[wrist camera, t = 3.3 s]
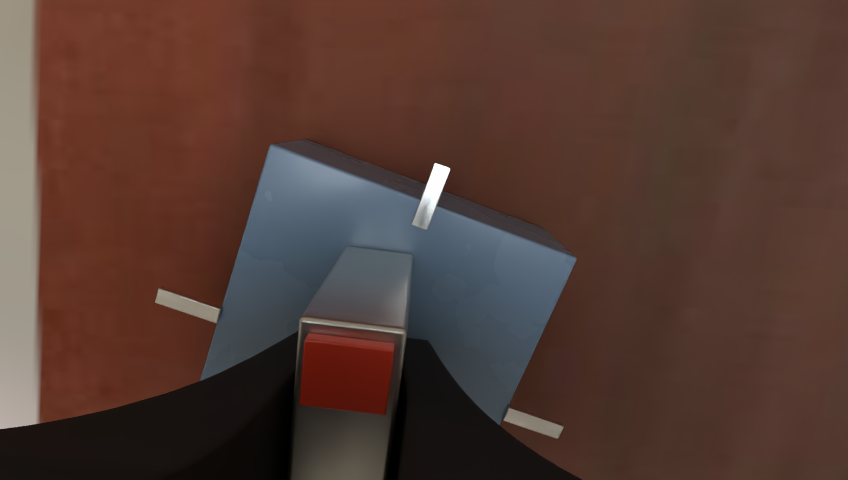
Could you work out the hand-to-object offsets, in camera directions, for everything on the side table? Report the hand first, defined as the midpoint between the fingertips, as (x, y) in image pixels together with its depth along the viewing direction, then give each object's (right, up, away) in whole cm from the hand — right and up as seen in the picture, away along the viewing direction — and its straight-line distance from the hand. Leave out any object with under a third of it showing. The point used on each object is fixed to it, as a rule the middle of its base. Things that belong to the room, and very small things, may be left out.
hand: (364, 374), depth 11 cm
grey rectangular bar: (0, 0, 0) cm, 0 cm away
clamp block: (0, +1, +3) cm, 3 cm away
